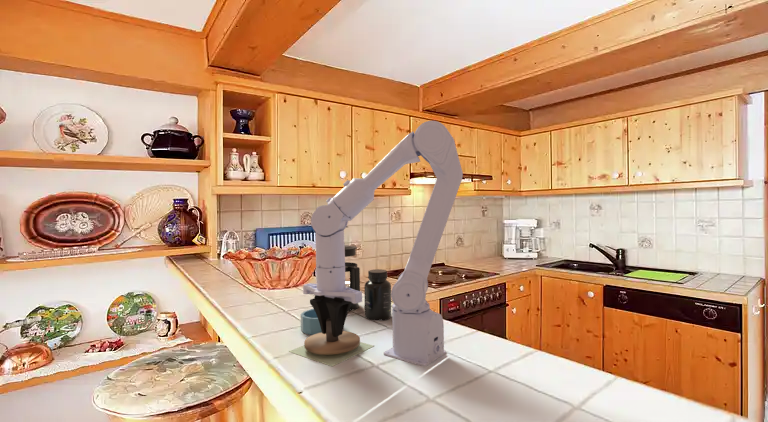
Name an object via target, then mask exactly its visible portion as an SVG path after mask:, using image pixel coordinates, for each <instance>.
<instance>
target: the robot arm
mask: <svg viewBox="0 0 768 422" xmlns="http://www.w3.org/2000/svg"><path fill="white" fill-rule="evenodd" d="M452 135H453V134H451V133H450V131H449V130H448V128H447V127H446V125H444V124H443V123H441V122H439V121H437V120H428V121H424V122H422V123H421V124H420V125H419V126H418V127H416V129H415V131H411V132H410V133H408V134H407V135H406V136H405V137H403V139H401V140H400V141H399V143H398V144H396V145H395V146H393V148H392V149H391V150H390V151H389V152H387V153H388V154H386V155H385V156H384V157H383V158H382V159H381V160H380V161H379V162H378V163H377V164H376V165H375V166H374V167H373V168H372V169H371V170H370V171H369V172H368V173H367V174H366V175H365V176H364V177H363V178H361V177H358V178H357V177H353V178H352V179H351V180H349V179H347V180H346V181H344V183H342V184H343V186H344V187H343V188H342V189H340V191H338V192H337V193H336V194H335V195H334V196H333V197H328V198H327V199H326V201H325V202H326V203H327V204H324V205H319V206H317V207H316V209H315V210H314V211H313V212H312V215H311V218H310V224H311V228H312V229H313V230H314V232H315V271H316V274H315V275H316V276H315V277H316V279H315V281H316V283H311V282H309V283H305V284H303V286H302V288H303V290H302V291H303V292H302V293H303V295H314V297H313V298H310V299H309V303H310V305H311V307H312V309H314V310H315V312H316V315H317V317H318V320H319V323H320V327H321V331H322V334H326V320H327V319H330V318H331V328H332V335H333V337H337V336H339V335H342V333H343V331H344V327H345V323H346V321H347V320H346V319H347V316H348V314H349V312H350V311H349V309H350V307H351V306H352V304H353V303H354V304H356V303H358V304H360V303H362V302H363V292H362V291H361V290H360V291H357V290H354V289H351V288H348V287H346V284H345V281H346V272H345V262H346V257H345V245H346V244H345V229H346V226H348V223H349V222H351V221H353V219H354V218H355V217H356V216H358V215H359V214H360V213H361V212H362V211H364V209H366V208H367V207H368V206H369V205H370V204H371V203H372V202H373V201H374V200H375V191H376V190H377V189H378V188H380V186H382V185H383V184H384V183H385V182H386V181H388V180H389V179H390V178H391V177H392V176H393V175H394V174H396V173H397V172H398V171H399V170H400V169H402V168H403V167H405V165H409V164H415V163H419V162H421V160H420V156H421V157H422V158H423V159H424V160H425V161H426V162H427V163H428V164H429V166H430V168H431V170H432V171H433V173H434V176H435V177H436V179H435V183H434V186H433V189H432V192H431V194H430V197H429V200H428V203H427V206H426V208H425V212H424V215H423V217H422V220H421V223H420V227H419V228H418V231H417V234H416V238H415V240H414V244H413V246H412V249H411V251H410V254H409V257H408V260H407V263H406V265H405V267H404V271H403V272H401V274H400V275H399V276H398V278H397V280H396V282H395V283H394V284H393V286H392V287H391V301H392V304H391V317H392V326H391V327H392V347H391V348H389V349H386V351H383V355H384V356H385V357H389V358H393V359H397V360H401V361H404V362H408V363H410V364H414V365H418V366H421V367H427V366H428V365H431V363H433V362H434V361H436V360H437V359H439V358H441V357H442V356H444V355H445V354H446V353H447V352H446V350H445V346H444V345H445V341H444V338H445V335H444V331H445V330H444V326H445V324H444V319H443V315H442V314H441V313H439V312H436V311H433V309H431V308H430V307H431V306H430V303H429V302H428V301H427V300H426V298H427V293H428V287H429V281H428V277H429V274H430V271H431V268H432V265H433V262H434V259H435V256H436V253H437V251H438V249H439V245H440V243H441V239H442V236H443V234H444V231H445V227H446V225H447V223H448V220H449V217H450V214H451V212H452V209H453V206H454V204H455V203H454V202H455V200H456V197H457V194H458V192H459V188H460V186H461V183H462V180H463V175H464V173H463V169H462V165H461V161H460V157H459V153H458V151H457V147H456V142H455V141H456V140H455V139H454V137H453V136H452Z"/></svg>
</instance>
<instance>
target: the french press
mask: <svg viewBox="0 0 768 422" xmlns="http://www.w3.org/2000/svg"><path fill="white" fill-rule="evenodd" d="M346 228H349V226H348V225H347V226H346ZM346 228H345V229H346ZM357 249H358V247H357V246H355V245H348V244H345V258H347V257H354V256H356V254H357V253H356V250H357ZM348 272H349V281H346V280H345V284H346V287H348V288H351V289H354V290H357V291H361V285H360V284H361V275H360V274H361V268H360V267H358V263H355V262H351V261H350V262H348V261H345V273H348ZM359 306H360V303H356V304H354V303H353V304H352V306H351V307H350V309H349V312H351V311H355V310H357V309H358V308H359Z"/></svg>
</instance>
